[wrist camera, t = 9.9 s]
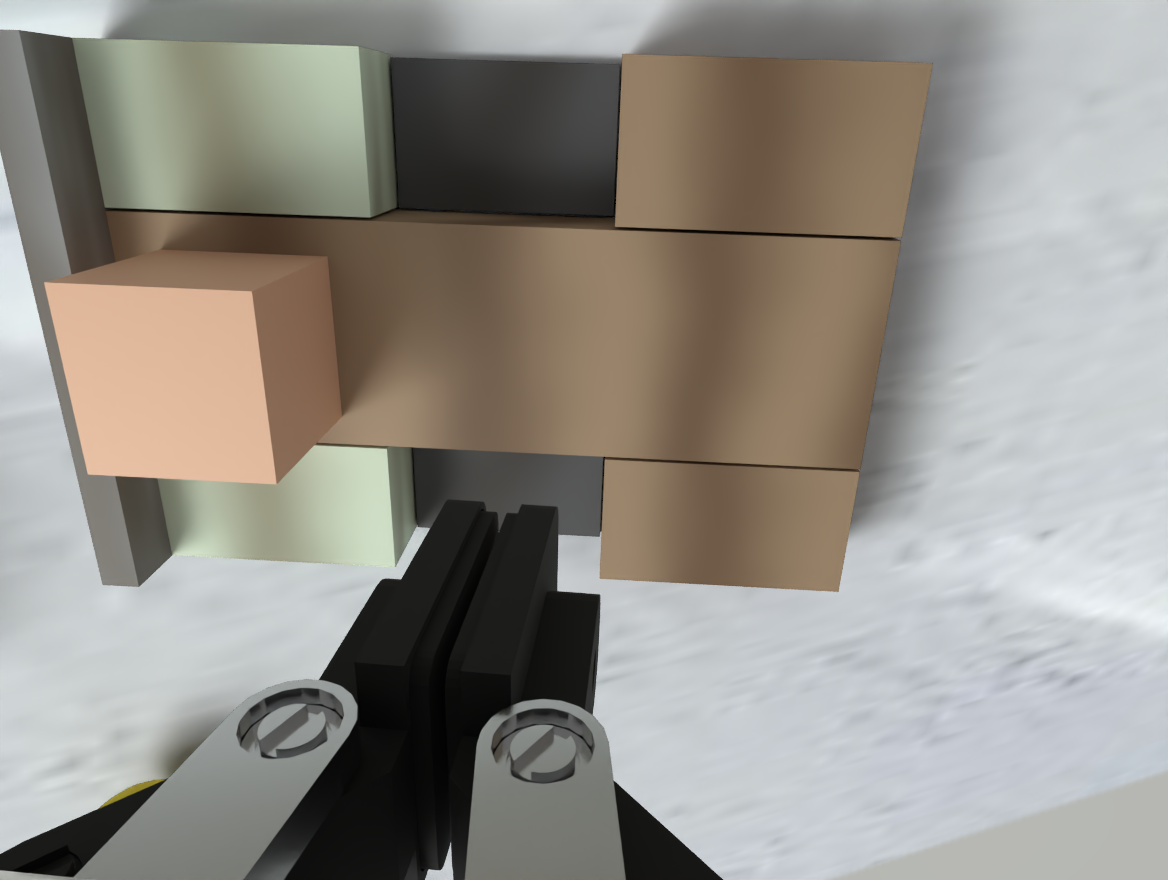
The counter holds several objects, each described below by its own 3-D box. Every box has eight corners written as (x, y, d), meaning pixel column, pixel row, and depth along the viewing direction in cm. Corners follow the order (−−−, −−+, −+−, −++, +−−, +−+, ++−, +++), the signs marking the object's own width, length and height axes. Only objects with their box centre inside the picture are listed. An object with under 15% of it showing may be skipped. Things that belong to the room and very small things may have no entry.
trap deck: (896, 69, 23) (963, 57, 18) (818, 546, 29) (854, 627, 25) (98, 46, 24) (-29, 29, 19) (183, 513, 30) (103, 584, 26)
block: (327, 256, 23) (251, 291, 18) (341, 416, 25) (276, 484, 20) (160, 249, 23) (44, 282, 19) (187, 408, 25) (87, 474, 21)
